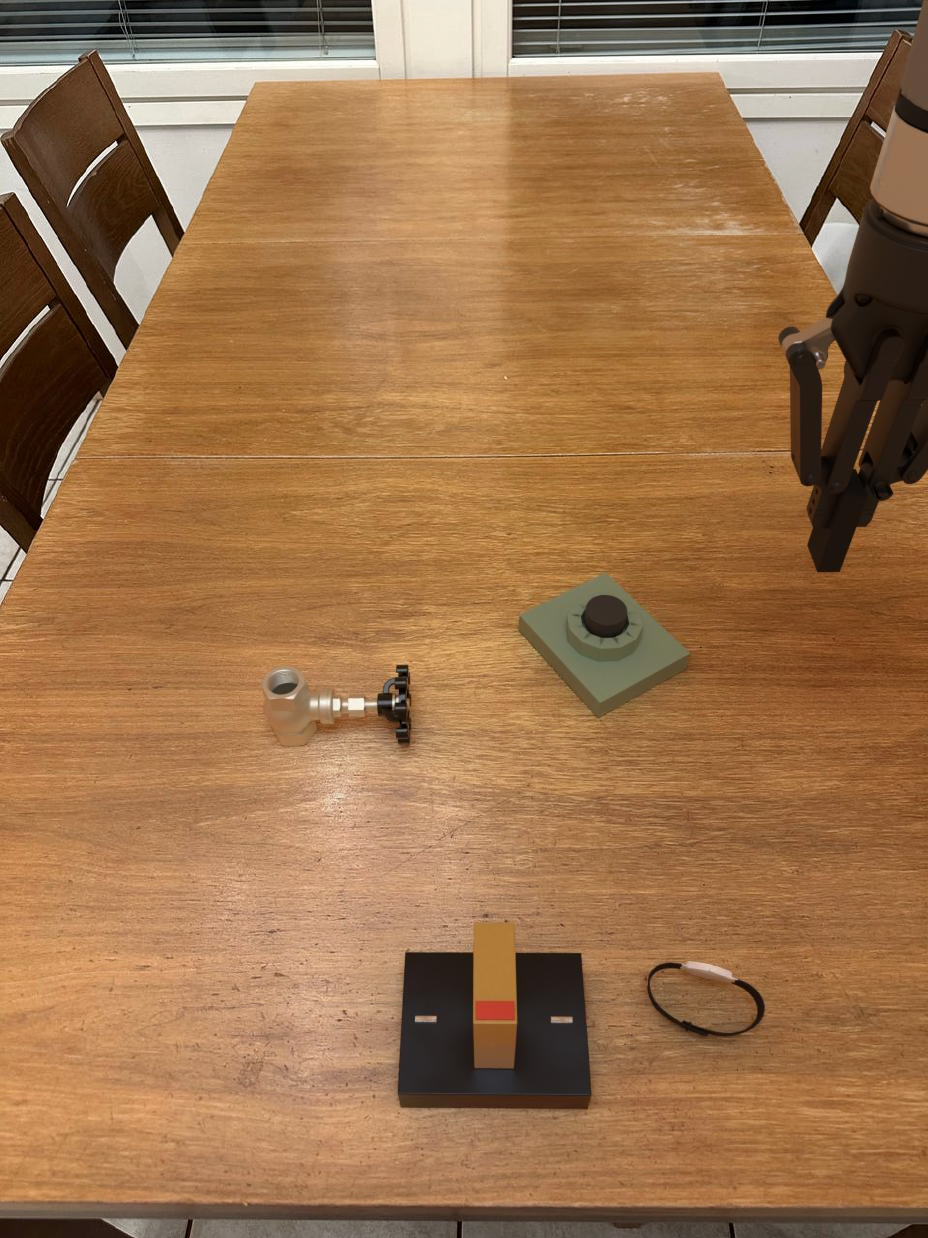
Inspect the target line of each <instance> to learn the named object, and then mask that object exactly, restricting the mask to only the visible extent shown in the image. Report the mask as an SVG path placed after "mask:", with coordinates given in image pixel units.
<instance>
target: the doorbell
mask: <svg viewBox="0 0 928 1238" xmlns="http://www.w3.org/2000/svg"><path fill="white" fill-rule="evenodd" d="M599 595H611V596H614V597H617V598H619V599H620V600H621V601H623V602H624V604H625V605H626V607H627V617H626V623H625V628H624V630H623V631H622V632H621V633H620V634H619V635H617V636H615V637H611V638H602V637H598V636H595V635H593V634H592V633H590V632H589V631H588V630H587V628H586V627H585V624H584V618H585V610H586V605H587V603H588V601H589V600H590V599H592V598H593V597H596V596H599ZM518 631H519V633H520V634H521V635H522V636H523V637H524V638H525V640H526V641H528V643H529V644H530V645H531V646H532V647H533V648H534V649H535V650H536V651H537V652H538V653H539V655H540V656H541V657H542V658H543V659H544V660H545V662H546V663H547V664H548V665H549V666H550V667H551V668H552V670H553V671H555V672H556V673H557V675H558V676H559V677H560V678H561V679H562V680H563V681H564V682H565V684H566V685H567V686H568V687H569V688H570V689H571V690H572V691H573V692H574V693H575V694H576V696H577V697H578V698H579V699H580V700H581V701H582V702H583V703H584V705H585V706H586V707H587V708H588V709H589V710H590V711H591V712H592V713H593V715H594V716H595V717H596V718H598V719H599V718H600V717H602V716H603V715H606V714H608V713H609V712H611V711H613V710H615V709H617V708H618V707H620V706H623V705H624V704H625V703H627V702H630V701H631V700H633V699H635V698H636V697H638V696H640V695H641V694H642V695H643V694H644V693H645V692H647V691H649V690H650V689H652V688H654V687H656V686H658V685H660V684H661V683H663V682H665V681H667V680H668V679H671V678H672V677H674V676H676V675H678V674H680V673H682V672H683V671H685V670H687V669H688V664H689V660H690V656H691V652H690V651H689V650H688V649H687V648H686V647H685V646H684V645H682V644H681V642H679V640H677V638H675V637H674V636H673V635H672V634H671V633H670V632H669V631H668V630H667V629H666V628H665V627H663V625H662V624H660V623H659V622H658V621H657V620H656V619H655V618H654V617H653V616H652V615H651V614H650V613H649V612H648V611H647V610H646V609H645V608H644V607H643V606H642V605H641V604H640V603H639V602H638V601H637V600H635V598H634V597H632V596H631V595H630V594H629V593H628V592H627V591H626V590H625V589H624V588H623V587H622V586H621V585H620V584H619V583H618V582H616V581H615V579H613V577H612V576H610V574H608V573H607V572H603V573H602V574H601V573H600V574H599V575H596V576H595V577H593V578H591V579H589V580H588V581H587V580H586V581H585V582H583V583H581V584H579V585H577V586H575V587H573V588H571V589H569V590H566V591H565V592H562V593H560V594H558V595H557V596H555V597H552V598H550V599H548V600H546V601H543V602H542V603H540V604H538V605H536V606H535V607H532V608H530V609H528V610H526V611H523V612H521V613H519V615H518Z"/></svg>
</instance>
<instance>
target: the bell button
mask: <svg viewBox="0 0 928 1238" xmlns="http://www.w3.org/2000/svg"><path fill="white" fill-rule="evenodd" d="M626 617H627V607H626V605H625V604H624V602H623V601H621V600H620V599H619V598H617V597H614V596H611V595H599V596H596V597H593V598H592V599H590V600H589V601H588V603H587V605H586V610H585V618H584V624H585V627H586V628H587V630H588V631H589V632H590V633H592V634H593V635H595V636H598V637H602V638H611V637H615V636H617V635H619V634H620V633H621V632H622V631H623V630H624V628H625V623H626Z"/></svg>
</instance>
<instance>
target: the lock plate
mask: <svg viewBox="0 0 928 1238" xmlns="http://www.w3.org/2000/svg"><path fill="white" fill-rule="evenodd" d="M403 964H404V966H403V968H404V969H403V982H402V984H403V985H402V1001H401V1003H402V1005H401V1018H400V1019H401V1020H400V1021H401V1022H400V1039H399V1056H398V1057H399V1058H398V1075H397V1076H398V1078H397V1098H398V1102H399V1106H400V1108H402V1109H403V1108H404V1109H406V1108H407V1109H408V1108H410V1109H412V1108H413V1109H414V1108H415V1109H522V1110H523V1109H527V1110H529V1109H531V1110H533V1109H535V1110H536V1109H539V1110H543V1109H544V1110H588V1109H589V1106H590V1103H591V1100H592V1099H591V1098H592V1096H593V1095H592V1091H593V1090H592V1081H591V1080H592V1079H591V1068H590V1067H591V1065H590V1052H589V1039H588V1037H589V1036H588V1027H587V1026H588V1025H587V1013H586V1011H587V1010H586V1000H585V984H584V972H583V971H584V970H583V957H582V952H516V991H517V1034H516V1048H515V1062H514V1068H475V1067H474V1038H473V951H472V952H471V951H470V952H469V951H466V952H465V951H455V952H454V951H405V952H404V963H403Z"/></svg>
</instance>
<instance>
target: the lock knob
mask: <svg viewBox="0 0 928 1238" xmlns="http://www.w3.org/2000/svg"><path fill="white" fill-rule="evenodd" d="M472 947H473V948H472V949H473V951H472V952H473V1038H474V1067H475V1068H514V1062H515V1048H516V1034H517V991H516V953H517V952H516V924H515V922H473V946H472Z"/></svg>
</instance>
